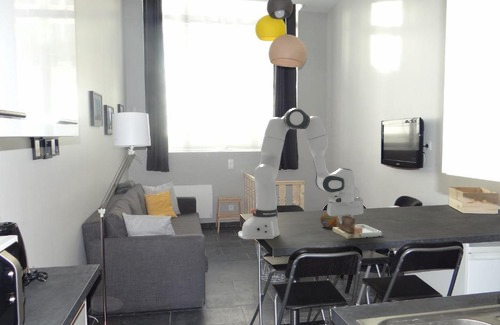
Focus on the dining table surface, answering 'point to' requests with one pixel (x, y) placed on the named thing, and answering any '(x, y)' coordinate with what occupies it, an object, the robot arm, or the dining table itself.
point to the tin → (328, 220)
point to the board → (346, 233)
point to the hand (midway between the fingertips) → (345, 223)
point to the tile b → (358, 229)
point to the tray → (369, 231)
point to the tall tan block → (346, 223)
